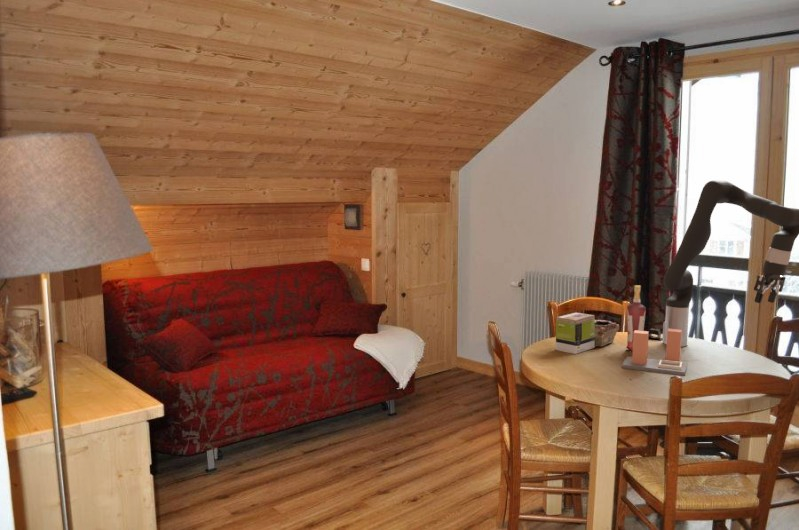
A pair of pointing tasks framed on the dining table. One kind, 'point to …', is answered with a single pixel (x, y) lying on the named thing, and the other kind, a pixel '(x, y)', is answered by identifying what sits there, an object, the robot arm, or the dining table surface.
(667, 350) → the terracotta block
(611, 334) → the grey textured container
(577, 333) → the tea box
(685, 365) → the charcoal board
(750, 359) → the dining table surface
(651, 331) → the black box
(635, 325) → the liquor
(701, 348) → the dining table surface
